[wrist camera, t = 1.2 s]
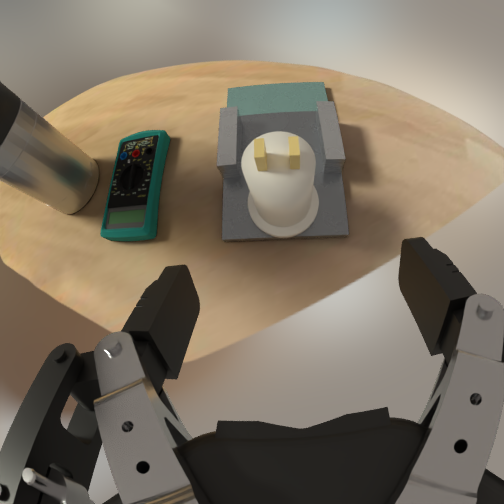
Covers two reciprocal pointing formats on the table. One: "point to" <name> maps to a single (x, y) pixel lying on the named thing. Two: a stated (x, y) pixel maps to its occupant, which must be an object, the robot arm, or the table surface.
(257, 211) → the plug
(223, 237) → the housing
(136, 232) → the digital multimeter
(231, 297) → the table surface
